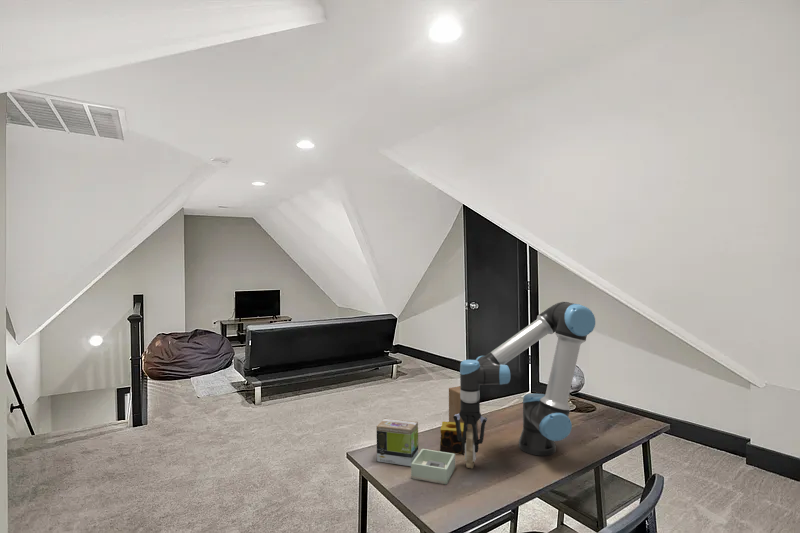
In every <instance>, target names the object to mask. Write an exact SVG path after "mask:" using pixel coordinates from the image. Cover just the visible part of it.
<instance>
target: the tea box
mask: <svg viewBox="0 0 800 533" xmlns="http://www.w3.org/2000/svg"><path fill="white" fill-rule="evenodd" d="M418 454H419V422H418V421H413V420H406V419H405V420H404V419H395V418H384V419H382V420H381V421H380V422H379V423H378V424H377V425H376V461H377V462H380V463H386V464H394V465H399V466H406V467H411V463H412V462H413V460H414V459H415V458H416V456H417V455H418Z"/></svg>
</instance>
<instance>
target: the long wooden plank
mask: <svg viewBox="0 0 800 533" xmlns="http://www.w3.org/2000/svg"><path fill="white" fill-rule="evenodd" d="M473 443H474V435H473V429H471V428H468V430H467V431H466V460H465V462H466V464H465V466H466V468H467V469H468V468H469V469H474V466H475V463H476V462H474V461H473Z"/></svg>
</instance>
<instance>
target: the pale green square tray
mask: <svg viewBox="0 0 800 533" xmlns="http://www.w3.org/2000/svg"><path fill="white" fill-rule="evenodd" d="M455 469H456V454H454V453H447V452H441V451H440V450H432V449H427V448H421V449H420V451H418V455H417V456H416V458H415V459H414V460H413V462H412V463H411V466H410V475H411V476H410V478H411V479H412V480H418V481H419V480H420V481H425V482H429V483H435V484H440V485H448V483H449V481H450V478H452V477H451V476H452V475H453V473H454V471H455Z"/></svg>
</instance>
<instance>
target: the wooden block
mask: <svg viewBox="0 0 800 533" xmlns="http://www.w3.org/2000/svg"><path fill="white" fill-rule="evenodd" d="M460 401H461V399H460V385H459V386H453V387H449V388H448V422H455V420H454V418H453V417H454V415H455V414H459V413H460ZM459 420H460V423H464V421H463V420H462V418H461V417H460V419H459ZM478 422H479V420H478V421H477V432H478V430H479V429H478V428H479V426H478ZM468 428H471V429H473V428H472V425H471V424H468ZM467 430H468V429H467ZM478 433H479V432H478Z"/></svg>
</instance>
